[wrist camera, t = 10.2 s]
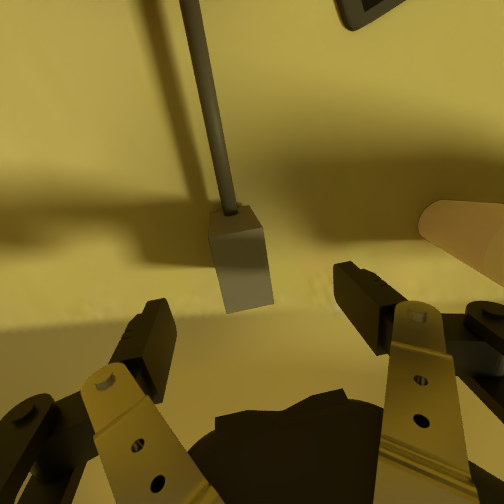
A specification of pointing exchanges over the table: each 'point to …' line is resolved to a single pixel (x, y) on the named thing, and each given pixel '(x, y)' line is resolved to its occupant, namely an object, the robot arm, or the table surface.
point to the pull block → (227, 193)
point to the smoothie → (468, 233)
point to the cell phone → (364, 11)
